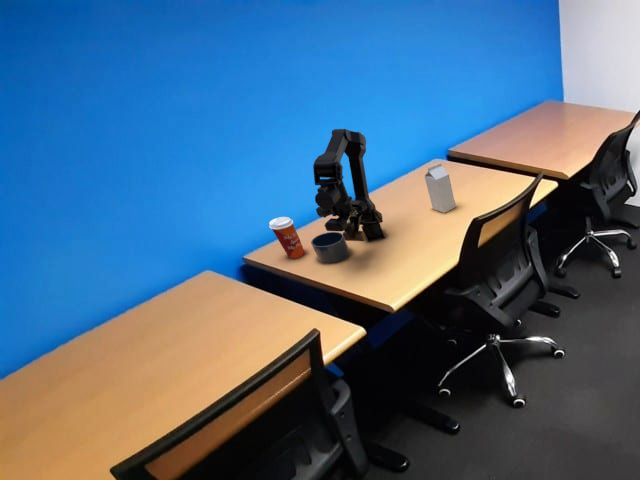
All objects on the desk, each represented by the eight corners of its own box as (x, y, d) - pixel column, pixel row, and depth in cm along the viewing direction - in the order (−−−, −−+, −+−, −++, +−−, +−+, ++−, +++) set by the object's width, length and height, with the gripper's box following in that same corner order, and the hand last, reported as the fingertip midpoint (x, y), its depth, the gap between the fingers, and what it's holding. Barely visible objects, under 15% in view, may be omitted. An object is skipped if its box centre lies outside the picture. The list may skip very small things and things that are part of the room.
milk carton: (456, 207, 206) (446, 164, 193) (444, 213, 201) (433, 170, 189) (444, 203, 209) (434, 161, 196) (432, 209, 204) (421, 166, 192)
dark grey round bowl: (348, 245, 181) (341, 229, 177) (352, 258, 174) (345, 242, 169) (317, 252, 177) (309, 236, 173) (320, 266, 170) (312, 249, 165)
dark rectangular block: (366, 238, 170) (363, 231, 168) (363, 241, 169) (360, 233, 167) (348, 237, 171) (345, 230, 169) (345, 240, 169) (342, 233, 167)
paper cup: (298, 260, 173) (281, 226, 164) (280, 258, 174) (262, 224, 165) (312, 250, 179) (296, 216, 169) (295, 248, 180) (278, 214, 170)
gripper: (330, 184, 166) (346, 224, 177) (301, 207, 152) (320, 249, 163) (360, 185, 166) (374, 225, 176) (333, 208, 152) (350, 250, 162)
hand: (354, 236), depth 169 cm, fingers closed on dark rectangular block, 2 cm apart
